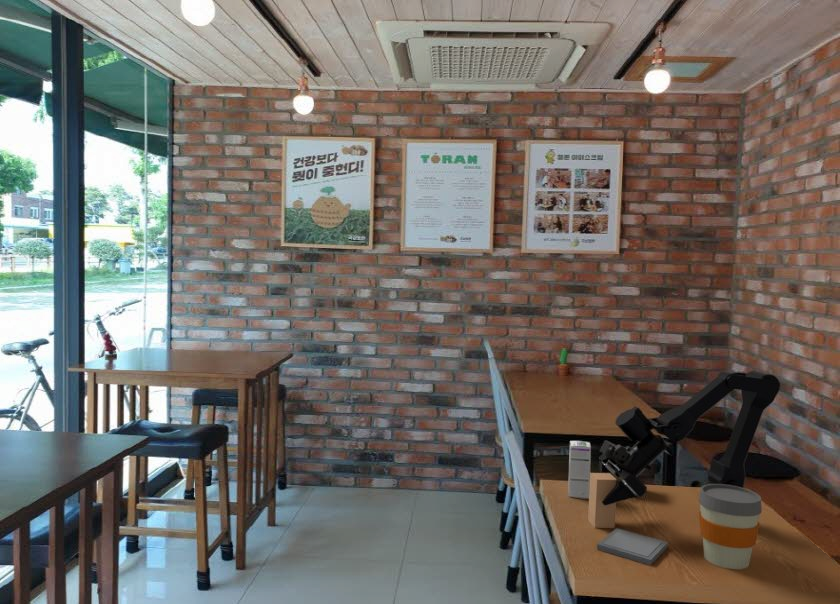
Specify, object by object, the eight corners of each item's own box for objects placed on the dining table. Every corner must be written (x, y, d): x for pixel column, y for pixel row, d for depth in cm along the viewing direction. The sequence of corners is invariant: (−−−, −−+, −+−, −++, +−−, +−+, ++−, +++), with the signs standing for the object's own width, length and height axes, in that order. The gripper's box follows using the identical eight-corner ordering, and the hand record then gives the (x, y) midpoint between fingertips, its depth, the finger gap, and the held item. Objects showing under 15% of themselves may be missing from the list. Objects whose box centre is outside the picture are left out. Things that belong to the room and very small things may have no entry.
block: (607, 520, 166) (609, 473, 165) (614, 528, 161) (617, 479, 160) (587, 519, 166) (590, 472, 165) (594, 527, 161) (597, 479, 160)
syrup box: (589, 499, 180) (592, 447, 180) (567, 497, 182) (570, 445, 181) (588, 492, 186) (591, 441, 185) (567, 490, 187) (569, 439, 186)
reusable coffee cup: (755, 579, 136) (759, 508, 136) (690, 562, 143) (694, 495, 142) (760, 557, 147) (765, 491, 146) (700, 543, 154) (704, 479, 153)
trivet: (667, 547, 151) (668, 541, 151) (650, 565, 141) (650, 559, 141) (616, 533, 158) (616, 527, 158) (596, 549, 148) (597, 543, 148)
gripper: (608, 421, 171) (564, 462, 171) (636, 441, 153) (587, 487, 153) (636, 451, 172) (592, 492, 172) (667, 474, 154) (619, 520, 154)
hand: (597, 497), depth 163 cm, fingers open, 9 cm apart
